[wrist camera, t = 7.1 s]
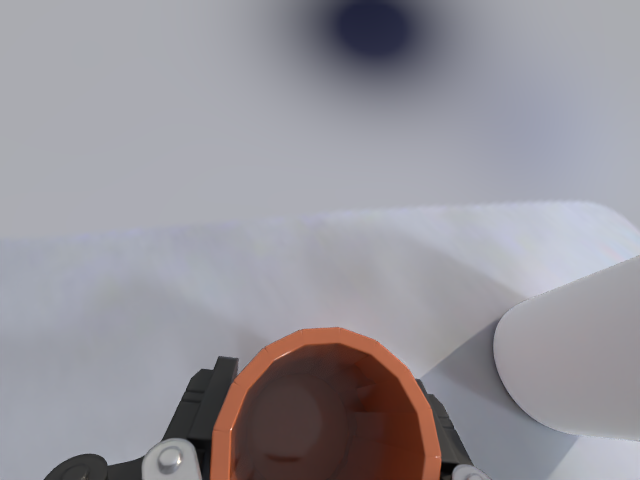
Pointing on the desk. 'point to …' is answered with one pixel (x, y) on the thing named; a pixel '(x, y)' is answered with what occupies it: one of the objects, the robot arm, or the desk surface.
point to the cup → (325, 414)
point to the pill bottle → (577, 354)
